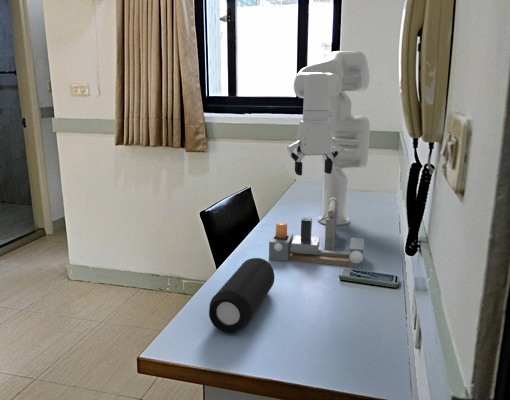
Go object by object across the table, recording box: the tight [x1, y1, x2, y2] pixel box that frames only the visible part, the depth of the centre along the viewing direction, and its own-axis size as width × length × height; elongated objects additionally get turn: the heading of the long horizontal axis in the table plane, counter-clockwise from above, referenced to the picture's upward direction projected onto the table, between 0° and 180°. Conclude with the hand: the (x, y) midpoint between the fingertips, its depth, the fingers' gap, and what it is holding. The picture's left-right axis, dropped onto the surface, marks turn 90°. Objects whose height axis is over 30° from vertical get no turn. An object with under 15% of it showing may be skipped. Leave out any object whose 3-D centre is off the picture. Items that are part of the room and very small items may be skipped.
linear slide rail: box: [268, 231, 365, 269], centre depth 148 cm, size 10×29×6 cm, turn 77°
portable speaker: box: [208, 257, 275, 334], centre depth 114 cm, size 26×10×10 cm, turn 163°
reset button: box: [275, 222, 288, 238], centre depth 150 cm, size 4×4×4 cm
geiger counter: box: [318, 197, 340, 251], centre depth 166 cm, size 14×6×25 cm
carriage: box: [291, 217, 321, 254], centre depth 148 cm, size 8×8×10 cm
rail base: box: [288, 248, 350, 267], centre depth 149 cm, size 8×29×2 cm, turn 77°
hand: (313, 173), depth 140 cm, fingers open, 9 cm apart
